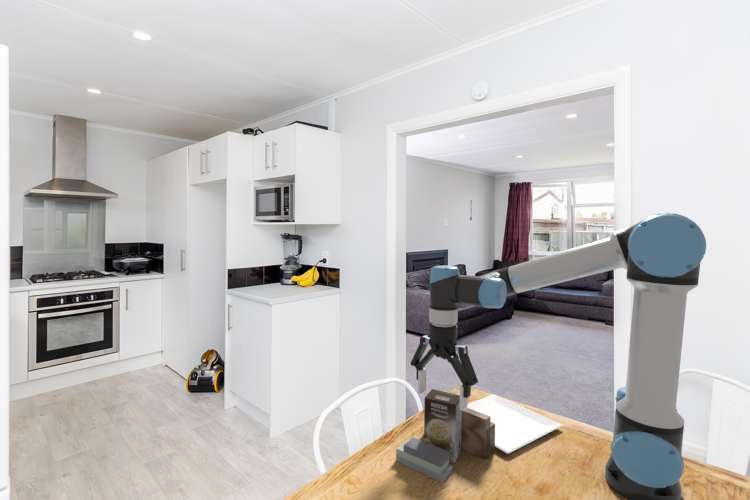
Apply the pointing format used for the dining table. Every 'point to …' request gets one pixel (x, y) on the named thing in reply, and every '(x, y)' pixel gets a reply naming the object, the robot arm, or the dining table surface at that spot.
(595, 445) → the dining table surface
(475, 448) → the walnut block
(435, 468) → the sleeved eraser
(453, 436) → the coffee box
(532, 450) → the dining table surface
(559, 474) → the dining table surface
